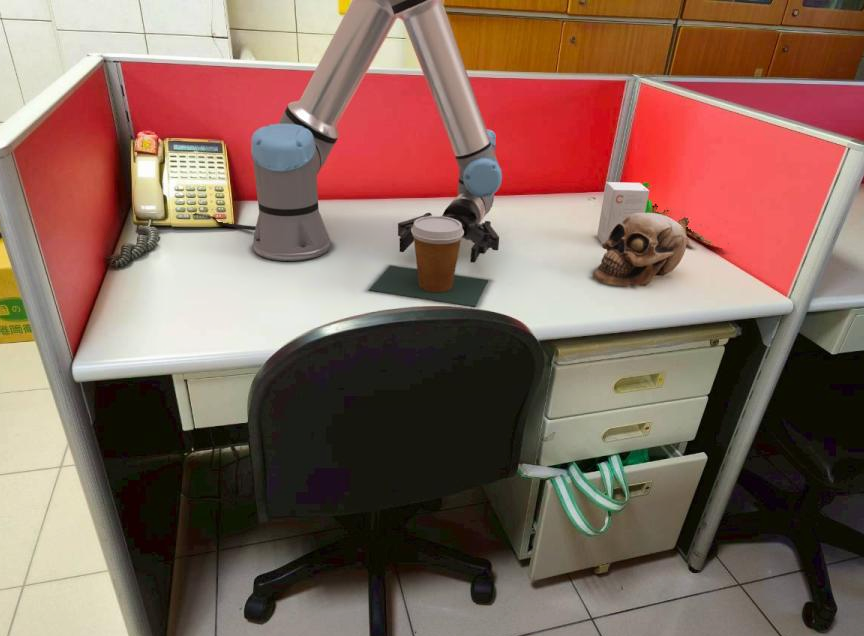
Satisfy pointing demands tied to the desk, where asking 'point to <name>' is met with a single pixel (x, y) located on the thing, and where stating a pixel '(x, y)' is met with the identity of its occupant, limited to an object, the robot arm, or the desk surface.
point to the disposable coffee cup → (436, 251)
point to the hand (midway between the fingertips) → (436, 250)
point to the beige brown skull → (641, 250)
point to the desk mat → (408, 285)
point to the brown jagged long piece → (692, 233)
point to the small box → (620, 205)
